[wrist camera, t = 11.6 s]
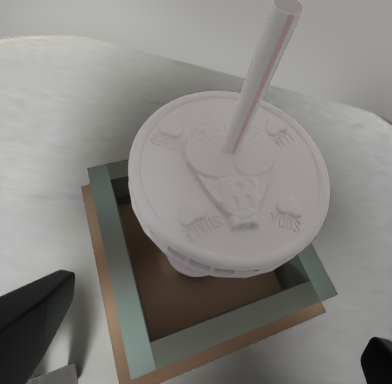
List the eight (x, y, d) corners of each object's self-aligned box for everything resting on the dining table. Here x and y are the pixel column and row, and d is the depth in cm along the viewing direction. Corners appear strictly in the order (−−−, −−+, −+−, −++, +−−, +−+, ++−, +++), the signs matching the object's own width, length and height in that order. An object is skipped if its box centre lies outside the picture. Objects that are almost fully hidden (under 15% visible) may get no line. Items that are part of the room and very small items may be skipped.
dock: (315, 312, 17) (365, 308, 13) (124, 393, 14) (110, 421, 10) (241, 157, 22) (261, 117, 18) (85, 194, 19) (64, 157, 15)
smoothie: (235, 197, 19) (386, -57, 6) (255, 295, 16) (587, 190, 4) (141, 202, 18) (98, -87, 5) (144, 309, 15) (76, 226, 3)
